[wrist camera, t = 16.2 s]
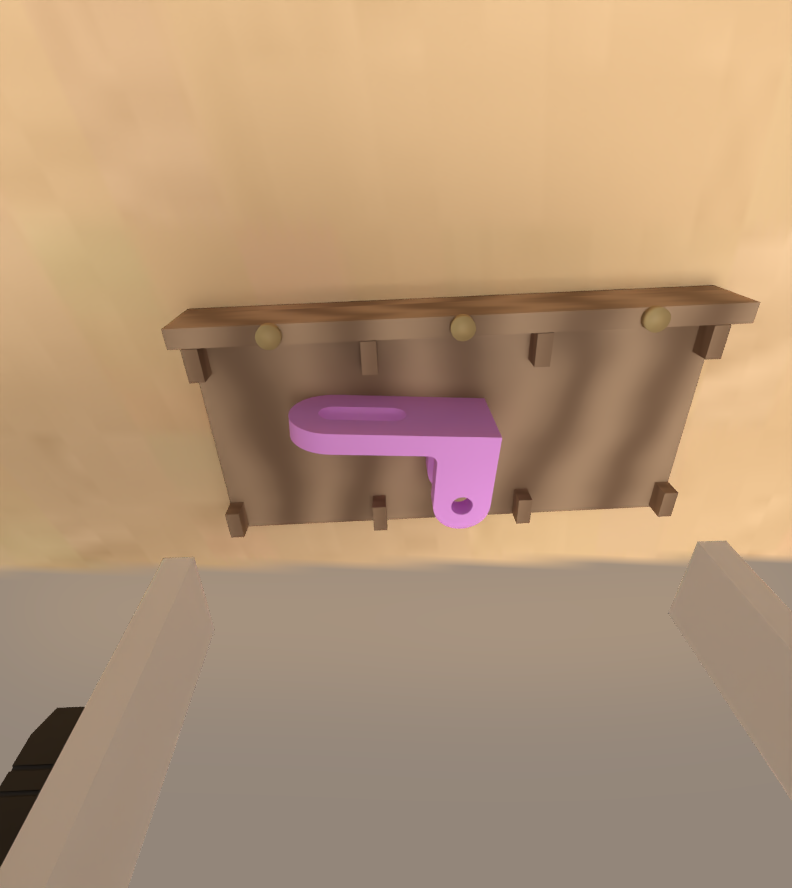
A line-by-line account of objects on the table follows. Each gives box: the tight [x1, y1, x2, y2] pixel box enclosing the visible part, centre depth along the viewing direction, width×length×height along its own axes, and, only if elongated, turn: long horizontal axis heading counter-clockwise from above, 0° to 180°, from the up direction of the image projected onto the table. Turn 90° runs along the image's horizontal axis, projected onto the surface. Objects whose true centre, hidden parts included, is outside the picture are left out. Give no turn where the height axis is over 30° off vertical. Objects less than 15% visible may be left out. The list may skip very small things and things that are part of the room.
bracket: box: [288, 395, 502, 528], centre depth 33 cm, size 13×6×7 cm
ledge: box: [161, 285, 760, 537], centre depth 33 cm, size 34×17×5 cm, turn 92°
